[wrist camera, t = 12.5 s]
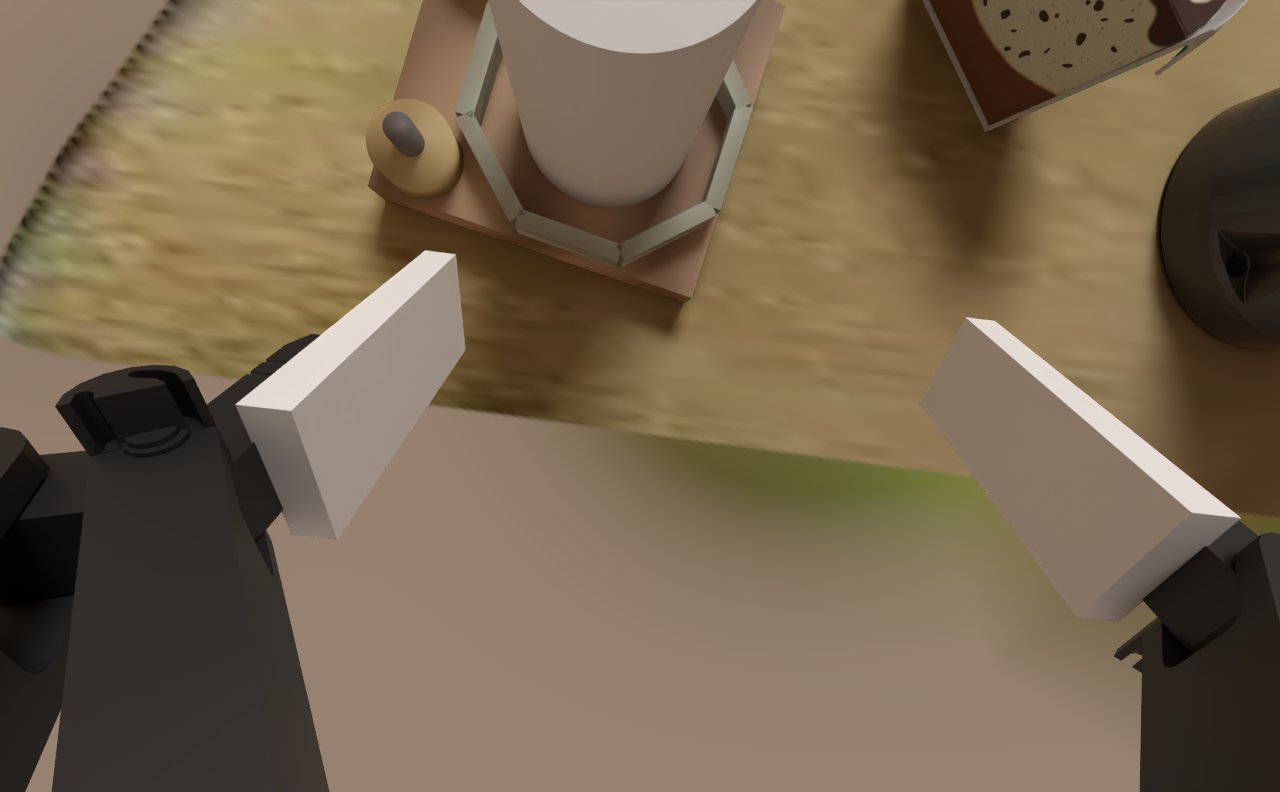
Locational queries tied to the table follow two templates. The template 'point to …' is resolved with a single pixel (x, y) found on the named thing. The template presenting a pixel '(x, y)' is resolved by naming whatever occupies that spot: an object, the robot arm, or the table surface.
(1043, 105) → the food container
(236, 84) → the table surface
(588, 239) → the gear board
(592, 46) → the tall round pillar
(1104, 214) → the table surface
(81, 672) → the robot arm
